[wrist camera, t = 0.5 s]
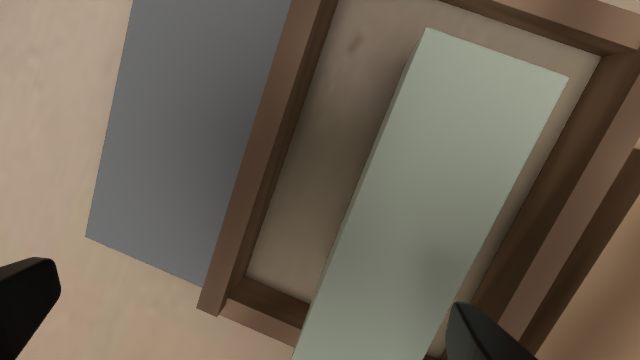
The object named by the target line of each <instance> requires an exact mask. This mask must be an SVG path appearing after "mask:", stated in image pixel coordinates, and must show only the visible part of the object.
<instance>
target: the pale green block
mask: <svg viewBox="0 0 640 360" xmlns="http://www.w3.org/2000/svg"><path fill="white" fill-rule="evenodd" d="M569 78H570V77H567V76H564V75H562V74H559V73H556V72H553V71H550V70H547V69H545V68H542V67H539V66H536V65H533V64H530V63H528V62H525V61H522V60H519V59H516V58H513V57H511V56H508V55H505V54H502V53H499V52H496V51H494V50H491V49H488V48H485V47H482V46H479V45H477V44H474V43H471V42H468V41H465V40H462V39H460V38H457V37H454V36H451V35H448V34H445V33H443V32H440V31H437V30H434V29H431V28H428V27H426V28H425V30H424V32H423V33H422V35H421V37H420V39H419V40H418V42H417V44H416V45H415V47H414V49H413V51H412V52H411V54H410V56H409V58H408V59H407V62H406V64H405V67H404V69H403V72H402V74H401V77H400V79H399V82H398V84H397V87H396V89H395V92H394V94H393V97H392V99H391V101H390V104H389V106H388V109H387V111H386V114H385V116H384V119H383V121H382V124H381V126H380V129H379V131H378V134H377V136H376V139H375V141H374V144H373V146H372V149H371V151H370V154H369V156H368V159H367V161H366V164H365V166H364V169H363V171H362V174H361V176H360V179H359V181H358V184H357V186H356V188H355V191H354V193H353V196H352V198H351V201H350V203H349V206H348V208H347V211H346V213H345V216H344V218H343V221H342V223H341V226H340V228H339V231H338V233H337V236H336V238H335V241H334V243H333V246H332V248H331V251H330V253H329V256H328V258H327V261H326V263H325V266H324V269H323V271H322V274H321V277H320V280H319V283H318V285H317V288H316V291H315V294H314V296H313V299H312V302H311V305H310V308H309V310H308V313H307V316H306V319H305V321H304V324H303V327H302V330H301V332H300V335H299V338H298V341H297V344H296V346H295V349H294V352H293V355H292V357H291V360H423V358H424V356H425V354H426V352H427V350H428V348H429V346H430V345H431V343H432V341H433V339H434V337H435V335H436V333H437V331H438V329H439V327H440V325H441V323H442V321H443V320H444V318H445V316H446V314H447V312H448V310H449V308H450V306H451V304H452V302H453V300H454V298H455V297H456V295H457V293H458V291H459V289H460V287H461V285H462V283H463V281H464V279H465V277H466V275H467V273H468V272H469V270H470V268H471V266H472V264H473V262H474V260H475V258H476V256H477V254H478V252H479V250H480V249H481V247H482V245H483V243H484V241H485V239H486V237H487V235H488V233H489V231H490V229H491V227H492V225H493V224H494V222H495V220H496V218H497V216H498V214H499V212H500V210H501V208H502V206H503V204H504V202H505V201H506V199H507V197H508V195H509V193H510V191H511V189H512V187H513V185H514V183H515V181H516V179H517V177H518V176H519V174H520V172H521V170H522V168H523V166H524V164H525V162H526V160H527V158H528V156H529V154H530V153H531V151H532V149H533V147H534V145H535V143H536V141H537V139H538V137H539V135H540V133H541V131H542V129H543V128H544V126H545V124H546V122H547V120H548V118H549V116H550V114H551V112H552V110H553V108H554V106H555V105H556V103H557V101H558V99H559V97H560V95H561V93H562V91H563V89H564V87H565V85H566V83H567V81H568V80H569Z"/></svg>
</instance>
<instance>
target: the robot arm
mask: <svg viewBox="0 0 640 360" xmlns="http://www.w3.org/2000/svg"><path fill="white" fill-rule="evenodd" d="M60 294H61V285H60V281H59V277H58V273H57V268H56V265H55V262H54V261H53V260H51V259H49V258H40V257H31V258H28V259H24V260H21V261H18V262H15V263H12V264H9V265H6V266H2V267H0V360H15V359H16V358H17V357H18V355H19V354H20V352H21V351H22V350H23V348H24V347H25V346H26V344H27V343H28V341H29V340H30V338H31V337H32V336H33V334H34V333H35V331H36V330H37V329H38V327H39V326H40V324H41V323H42V322H43V320H44V319H45V317H46V316H47V315H48V313H49V312H50V310H51V309H52V308H53V306H54V305H55V303H56V302H57V300H58V299H59V297H60ZM446 347H447V354H448V360H538V359H537V358H536V357H535V356H534V355H533V354H532V353H530V352H529V351H528V350H527V349H526V348H525V347H523V346H522V345H521V344H520V343H519V342H518V341H517V340H515V339H514V338H513V337H512V336H511V335H510V334H509V333H507V332H506V331H505V330H504V329H503V328H502V327H501V326H499V325H498V324H497V323H496V322H495V321H494V320H492V319H491V318H490V317H489V316H488V315H487V314H486V313H484V312H483V311H482V310H481V309H480V308H479V307H478V306H476V305H475V304H473V303H465V302H455V303H453V305H452V308H451V312H450V317H449V321H448V325H447V330H446Z"/></svg>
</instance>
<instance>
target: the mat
mask: <svg viewBox="0 0 640 360" xmlns="http://www.w3.org/2000/svg"><path fill="white" fill-rule="evenodd" d="M290 4H291V0H133V4H132V8H131V13H130V18H129V23H128V28H127V33H126V38H125V43H124V48H123V53H122V57H121V62H120V67H119V72H118V77H117V82H116V87H115V92H114V97H113V102H112V107H111V111H110V116H109V121H108V126H107V131H106V136H105V141H104V146H103V151H102V156H101V160H100V165H99V170H98V175H97V180H96V185H95V190H94V195H93V200H92V205H91V210H90V214H89V219H88V224H87V229H86V234H85V237H87V238H89V239H92V240H94V241H96V242H99V243H101V244H103V245H106V246H108V247H110V248H112V249H115V250H117V251H119V252H122V253H124V254H126V255H129V256H131V257H133V258H135V259H138V260H140V261H142V262H145V263H147V264H149V265H152V266H154V267H156V268H158V269H161V270H163V271H165V272H168V273H170V274H172V275H175V276H177V277H179V278H182V279H184V280H186V281H188V282H191V283H193V284H195V285H198V286H200V287H202V288H203V285H204V282H205V278H206V275H207V272H208V269H209V265H210V262H211V259H212V256H213V252H214V249H215V246H216V243H217V240H218V236H219V233H220V230H221V227H222V223H223V220H224V217H225V214H226V210H227V207H228V204H229V201H230V197H231V194H232V191H233V188H234V185H235V181H236V178H237V175H238V172H239V168H240V165H241V162H242V159H243V155H244V152H245V149H246V146H247V143H248V139H249V136H250V133H251V130H252V126H253V123H254V120H255V117H256V113H257V110H258V107H259V104H260V100H261V97H262V94H263V91H264V88H265V84H266V81H267V78H268V75H269V71H270V68H271V65H272V62H273V58H274V55H275V52H276V49H277V46H278V42H279V39H280V36H281V33H282V29H283V26H284V23H285V20H286V16H287V13H288V10H289V7H290Z"/></svg>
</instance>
